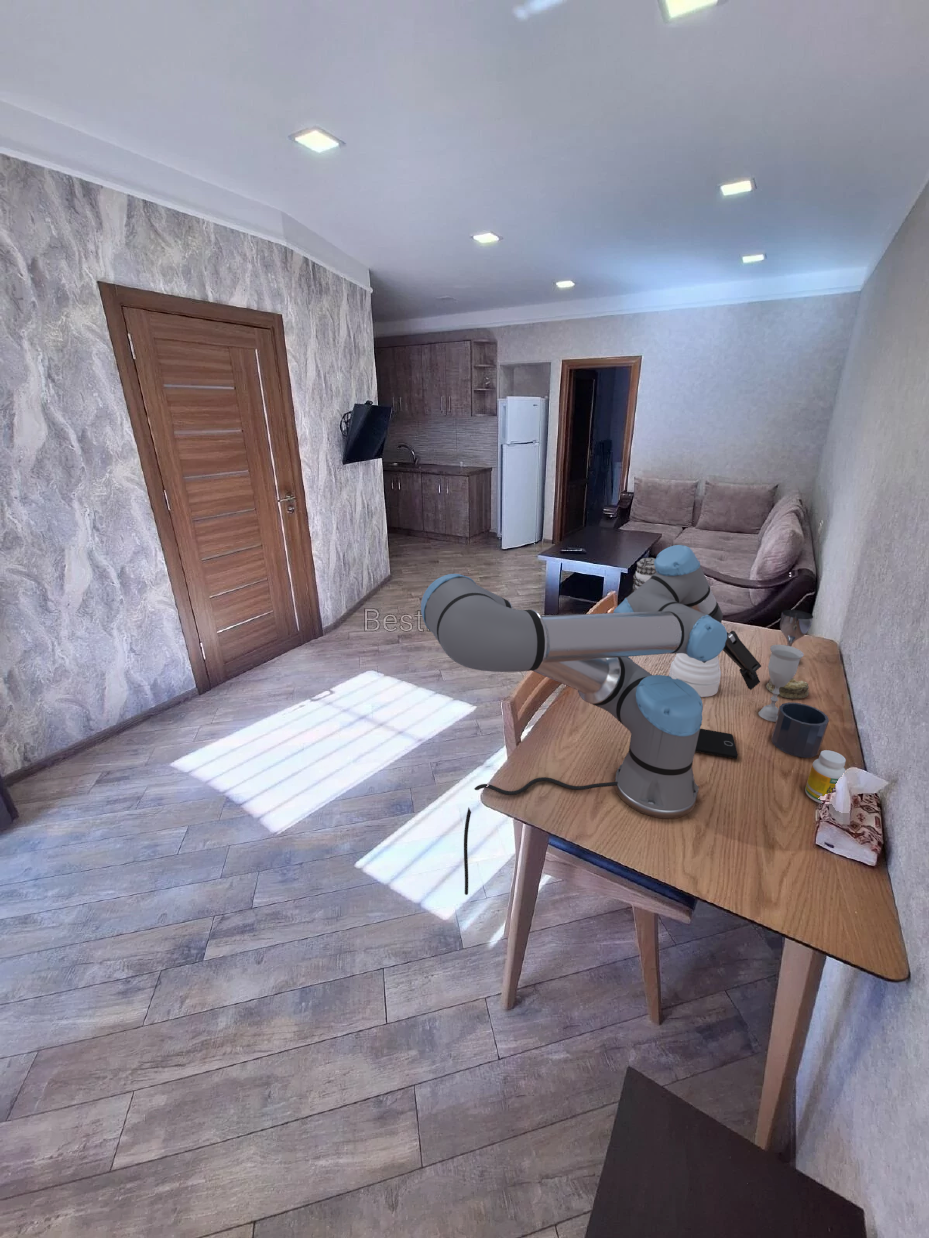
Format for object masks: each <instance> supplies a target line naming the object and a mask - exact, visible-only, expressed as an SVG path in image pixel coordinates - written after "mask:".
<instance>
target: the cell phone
mask: <svg viewBox="0 0 929 1238" xmlns="http://www.w3.org/2000/svg"><path fill="white" fill-rule="evenodd" d="M695 753H699V754H700V753H702V754H706V755H713V756H718V757H723V758H729V759H734V760H738V756H739V754H738V750H737V746H736V743H735V739H734V735H733V734H732V733H729V732H723V731H718V730H717V731H716V730H712V729H711V730H710V729H703V728H700V731H699V736H698V740H697V745H696V749H695Z"/></svg>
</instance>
